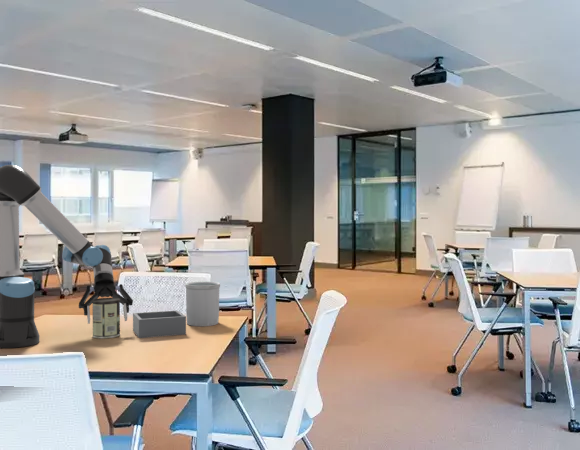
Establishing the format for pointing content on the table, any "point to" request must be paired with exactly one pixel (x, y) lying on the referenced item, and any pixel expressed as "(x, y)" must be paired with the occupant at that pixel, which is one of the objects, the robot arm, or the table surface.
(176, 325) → the bin
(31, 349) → the table surface
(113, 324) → the coffee can
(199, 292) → the utensil holder
